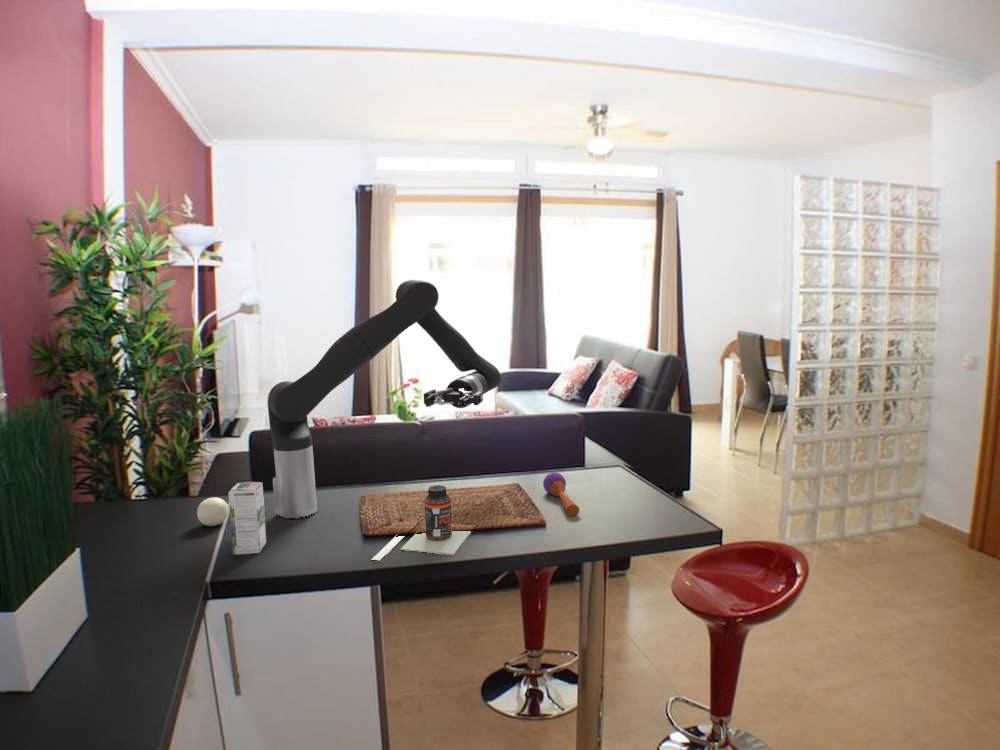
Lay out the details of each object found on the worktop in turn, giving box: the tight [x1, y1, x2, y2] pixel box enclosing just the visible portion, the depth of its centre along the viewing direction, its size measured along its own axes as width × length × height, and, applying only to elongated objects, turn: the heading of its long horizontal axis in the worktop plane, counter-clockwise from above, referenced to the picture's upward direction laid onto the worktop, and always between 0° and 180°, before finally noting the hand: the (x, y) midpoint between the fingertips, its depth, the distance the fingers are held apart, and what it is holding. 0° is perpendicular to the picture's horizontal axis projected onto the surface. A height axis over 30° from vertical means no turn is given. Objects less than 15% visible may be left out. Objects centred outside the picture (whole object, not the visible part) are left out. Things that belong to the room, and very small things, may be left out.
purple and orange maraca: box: [542, 472, 580, 518], centre depth 168 cm, size 6×6×20 cm
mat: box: [400, 531, 472, 556], centre depth 147 cm, size 12×16×1 cm
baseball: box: [196, 496, 230, 527], centre depth 159 cm, size 7×7×7 cm
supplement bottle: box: [424, 484, 453, 540], centre depth 147 cm, size 6×6×11 cm
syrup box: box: [228, 481, 268, 556], centre depth 143 cm, size 6×6×14 cm
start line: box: [371, 535, 406, 562], centre depth 147 cm, size 2×22×1 cm, turn 165°
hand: (443, 403), depth 157 cm, fingers open, 8 cm apart
